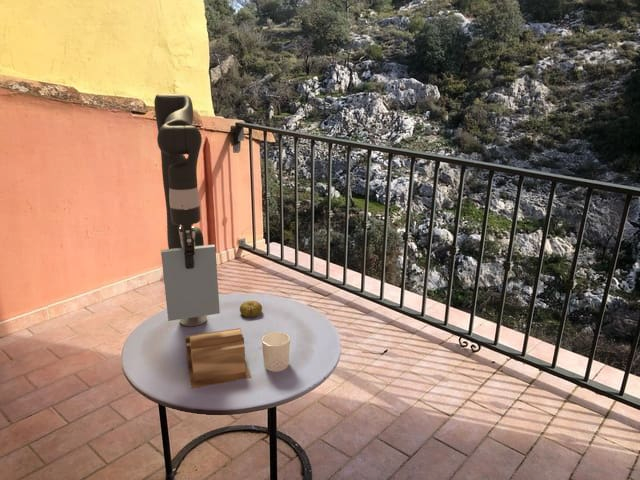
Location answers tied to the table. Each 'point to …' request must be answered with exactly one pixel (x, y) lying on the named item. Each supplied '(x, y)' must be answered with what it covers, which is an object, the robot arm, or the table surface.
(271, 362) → the white cup
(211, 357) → the short oak offcut
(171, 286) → the tall board
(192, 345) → the tall oak offcut
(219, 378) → the rack
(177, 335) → the table surface
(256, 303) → the sculpture
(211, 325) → the table surface
